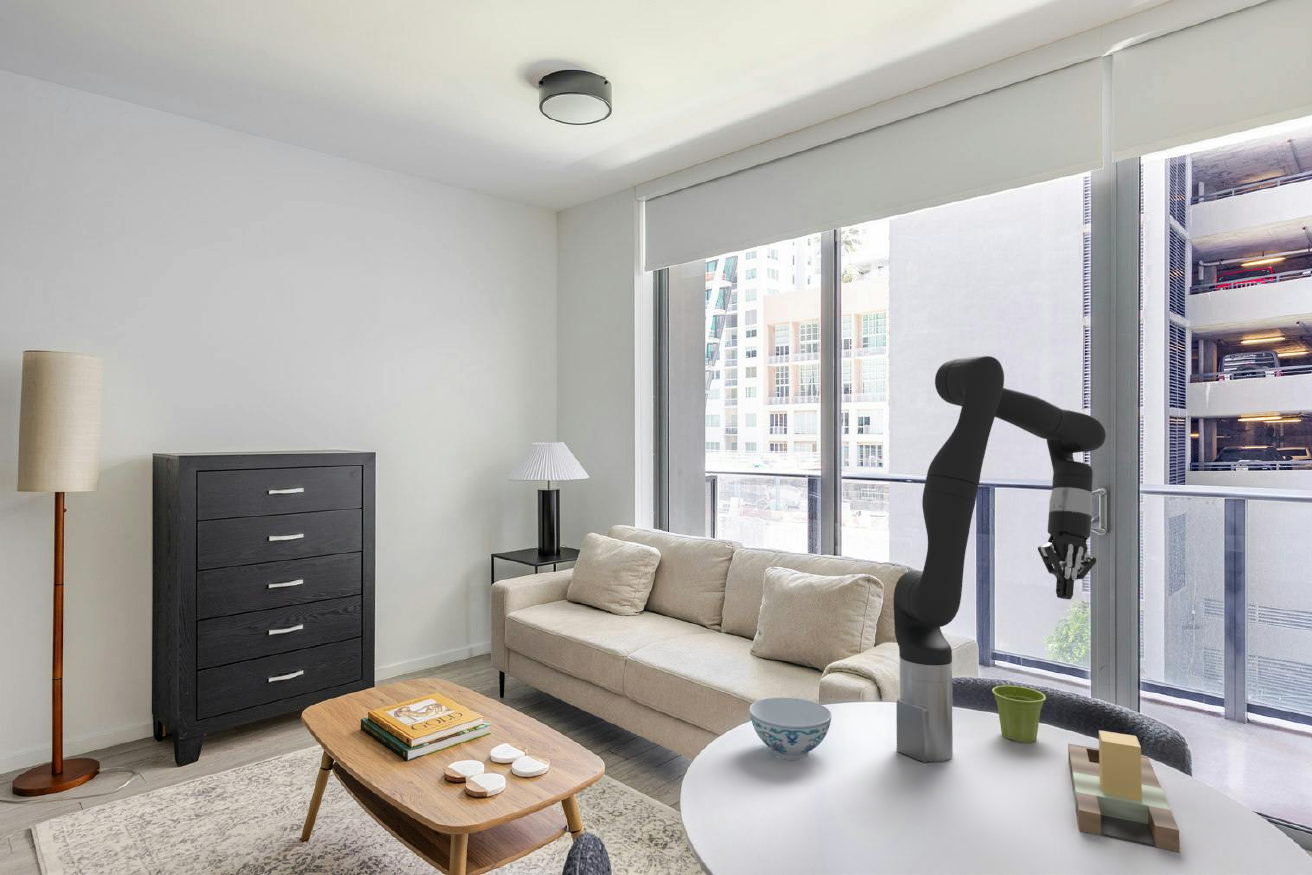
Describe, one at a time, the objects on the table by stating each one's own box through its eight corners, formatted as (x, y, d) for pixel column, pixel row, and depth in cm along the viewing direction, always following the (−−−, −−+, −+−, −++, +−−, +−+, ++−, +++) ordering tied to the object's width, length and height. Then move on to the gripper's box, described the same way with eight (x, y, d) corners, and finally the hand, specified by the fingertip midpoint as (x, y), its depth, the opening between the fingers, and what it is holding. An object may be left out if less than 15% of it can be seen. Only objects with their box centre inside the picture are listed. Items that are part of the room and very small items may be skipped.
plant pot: (1056, 747, 134) (1055, 701, 134) (1006, 746, 134) (1006, 700, 134) (1030, 728, 143) (1030, 685, 143) (984, 728, 143) (983, 685, 144)
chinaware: (802, 732, 140) (802, 693, 140) (848, 762, 126) (848, 719, 126) (735, 743, 135) (735, 702, 135) (775, 775, 121) (775, 730, 121)
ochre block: (1099, 780, 113) (1098, 730, 113) (1137, 787, 111) (1136, 735, 111) (1102, 793, 108) (1101, 740, 109) (1141, 800, 106) (1140, 747, 106)
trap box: (1068, 760, 128) (1068, 743, 128) (1148, 774, 122) (1147, 756, 122) (1078, 830, 103) (1078, 809, 103) (1179, 852, 98) (1179, 830, 98)
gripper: (1059, 504, 138) (1053, 593, 134) (1111, 519, 141) (1107, 606, 137) (1029, 507, 145) (1022, 591, 141) (1079, 520, 148) (1074, 603, 144)
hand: (1064, 598), depth 139 cm, fingers closed
